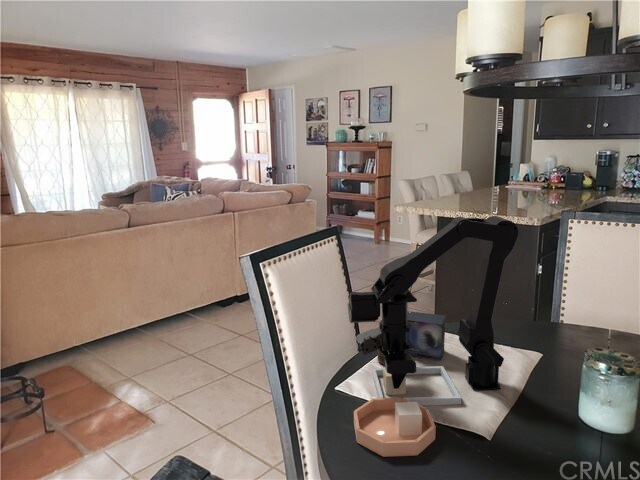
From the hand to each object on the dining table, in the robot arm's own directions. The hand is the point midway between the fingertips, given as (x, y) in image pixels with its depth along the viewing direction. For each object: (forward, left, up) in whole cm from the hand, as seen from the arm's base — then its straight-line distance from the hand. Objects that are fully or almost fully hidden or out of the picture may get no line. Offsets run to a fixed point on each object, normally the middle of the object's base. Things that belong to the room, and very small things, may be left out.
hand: (394, 382), depth 110 cm
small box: (-11, -18, -2) cm, 21 cm away
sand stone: (0, 0, -2) cm, 2 cm away
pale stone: (0, +16, -1) cm, 16 cm away
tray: (-5, 0, -2) cm, 5 cm away
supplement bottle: (-1, -14, -2) cm, 14 cm away
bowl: (+3, +16, -2) cm, 16 cm away
